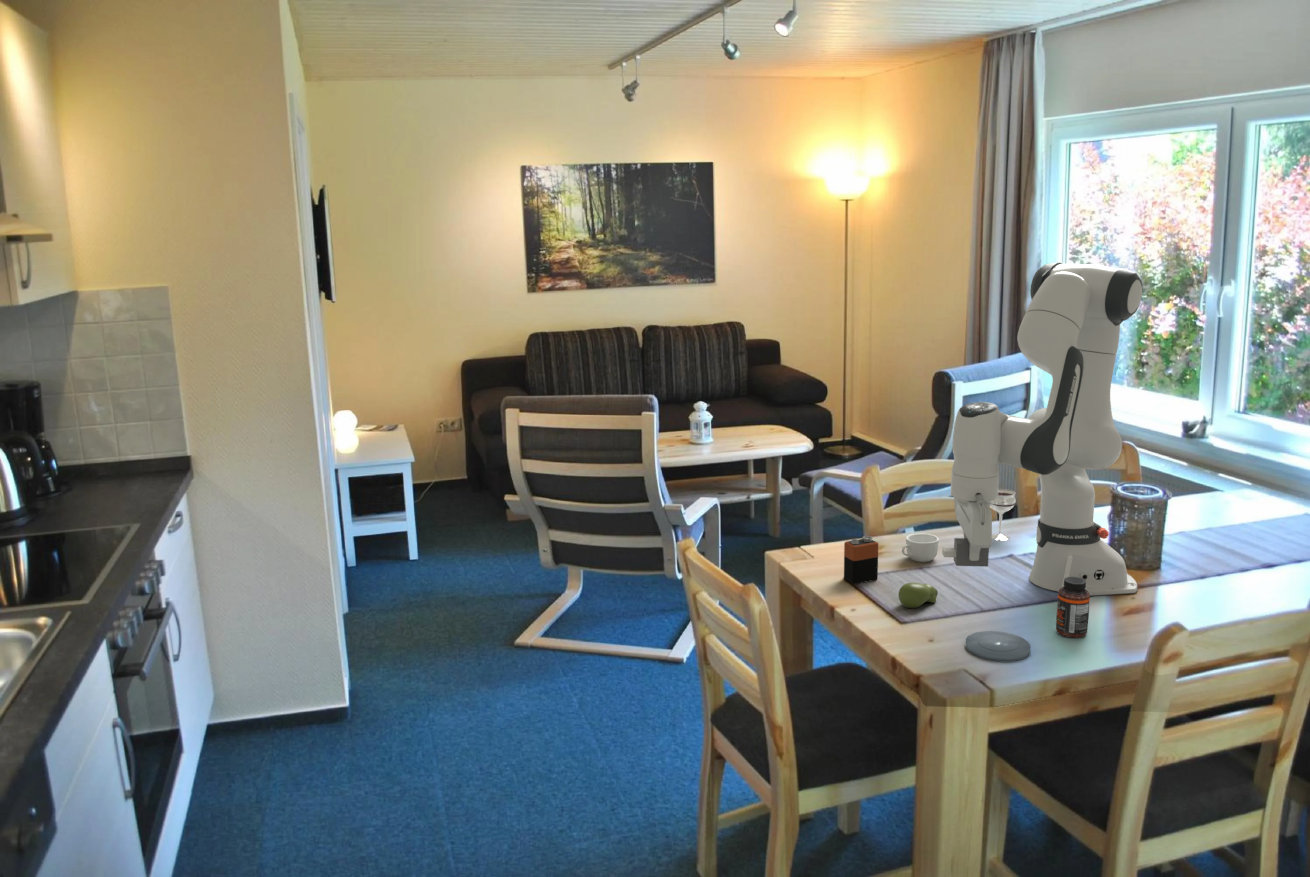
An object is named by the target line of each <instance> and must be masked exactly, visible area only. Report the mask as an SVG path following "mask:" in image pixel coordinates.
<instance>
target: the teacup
mask: <svg viewBox="0 0 1310 877" xmlns="http://www.w3.org/2000/svg"><path fill="white" fill-rule="evenodd" d="M939 542H940V539H939V537H938V536H937V535H934V534H932V533H921V532H919V533H918V532H917V533H912V534H908V535H907V536H905V544H904V545H903V547H902V548H901V554H903V555H904V556H906V557H909V558H910V559H912V561H915V562H917V563H929V562H931V561H932V560H934V559H935V558H936V556H937V555H938V551H939V550H938V549H939ZM905 550H906V552H905Z"/></svg>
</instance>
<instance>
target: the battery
mask: <svg viewBox="0 0 1310 877" xmlns="http://www.w3.org/2000/svg"><path fill="white" fill-rule="evenodd" d="M843 547H844V548H843V550H844V551H843V557H844V558H843V579H844V580H846V581H847V582H849V583H851V584H853V585H854V584H855V583H857V584H862V583H861V582H863V583H866V582H865V581H868V582H871V581H870V580H873V581H877V580H878V578H879V577H878V575H879V572H878V571H879V542H878V541H876V540H874V539H873V537H872V536H870V535H863V536H862V538H860V539H858V538H857V539H856V538H853V539H851V540H848V541H847V540H846V541H845V542H844V546H843ZM855 585H856V584H855Z"/></svg>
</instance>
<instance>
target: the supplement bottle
mask: <svg viewBox="0 0 1310 877" xmlns="http://www.w3.org/2000/svg"><path fill="white" fill-rule="evenodd" d="M1085 587H1086V581H1085V580H1084V579H1082V578H1079V577H1067V578H1065V579H1064V587H1062V588H1060V589H1059V591H1057V601H1056V602H1057V603H1056V604H1057V606H1056V618H1055V620H1056V621H1055V631H1056V633H1058V634H1059V635H1061V636H1062V637H1067V638H1069V639H1070V638H1071V639H1073V638H1074V639H1079V638H1080V639H1081V638H1084V637H1086V636H1087V634H1088V630H1089V628H1088V627H1089V618H1090V617H1089V616H1090V604H1091V603H1090V602H1091V596H1090V593H1089V592H1088V591H1087V590H1086V589H1085Z"/></svg>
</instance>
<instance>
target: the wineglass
mask: <svg viewBox="0 0 1310 877" xmlns="http://www.w3.org/2000/svg"><path fill="white" fill-rule="evenodd" d="M1015 495H1016V491H1014V490H1011V489H1007V488H1006V489H1005V488H999V490H998V498H997V499H995V500H991V505H990V506H989V507H990V509H991V510H993V511H995V512H997V514H998V515H999V516H998V517H999V518H998V520H999V521H998V529H999V531H998V533H994V534H992V540H995V541H1007V540H1010V539H1011V538H1010V536H1008V535H1006V534H1002V533H1001V532H1002V522H1003V515H1004V514H1005V513H1006V512H1009V511H1010V510H1011V509H1013V508H1014V506H1015V505H1016V497H1015Z"/></svg>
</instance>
